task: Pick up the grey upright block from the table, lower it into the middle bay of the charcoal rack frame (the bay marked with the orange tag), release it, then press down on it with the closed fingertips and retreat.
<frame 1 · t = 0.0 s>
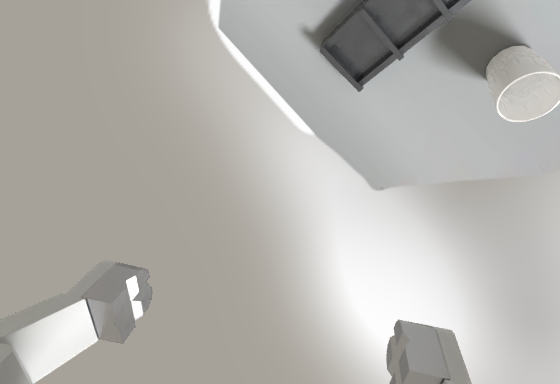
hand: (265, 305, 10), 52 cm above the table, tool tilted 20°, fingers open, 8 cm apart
white cup: (509, 65, 51), on the table
rack: (404, 7, 48), on the table
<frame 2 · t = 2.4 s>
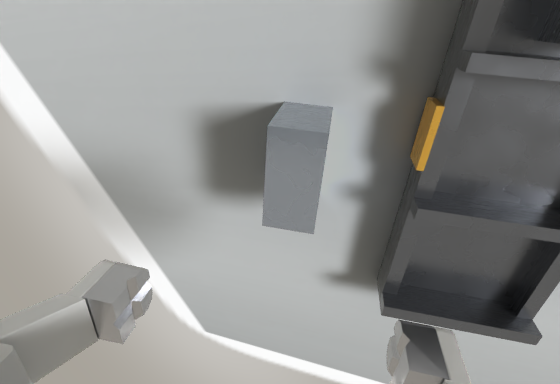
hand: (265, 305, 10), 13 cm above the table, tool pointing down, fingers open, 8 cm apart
grey upright block: (303, 149, 21), on the table
rack: (514, 137, 18), on the table
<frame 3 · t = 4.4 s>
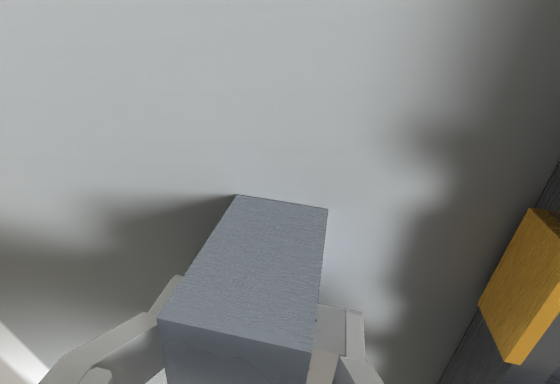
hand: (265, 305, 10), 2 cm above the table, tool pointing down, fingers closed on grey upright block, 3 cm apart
grey upright block: (275, 271, 12), on the table, touching gripper
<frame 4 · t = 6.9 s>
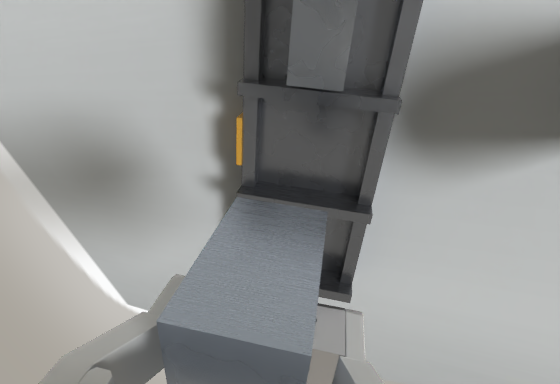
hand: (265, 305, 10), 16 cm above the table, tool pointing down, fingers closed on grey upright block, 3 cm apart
grey upright block: (275, 273, 12), point 15 cm above the table, touching gripper
rack: (313, 141, 24), on the table
when the fingers open (4 cm above the table, at t = 9.6 s): grey upright block drops 1 cm, resting on rack.
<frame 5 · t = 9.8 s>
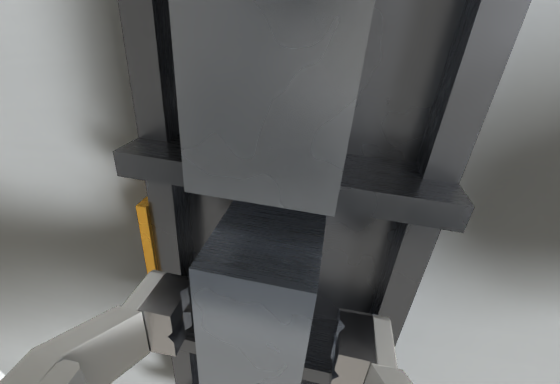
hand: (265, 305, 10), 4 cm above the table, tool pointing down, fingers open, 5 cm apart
grey upright block: (282, 248, 13), point 1 cm above the table, touching rack
rack: (287, 233, 14), on the table
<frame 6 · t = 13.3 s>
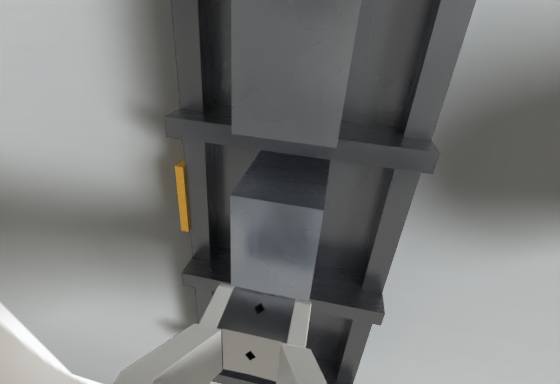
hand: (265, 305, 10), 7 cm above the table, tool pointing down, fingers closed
grey upright block: (292, 204, 16), point 1 cm above the table, touching rack
rack: (296, 193, 16), on the table
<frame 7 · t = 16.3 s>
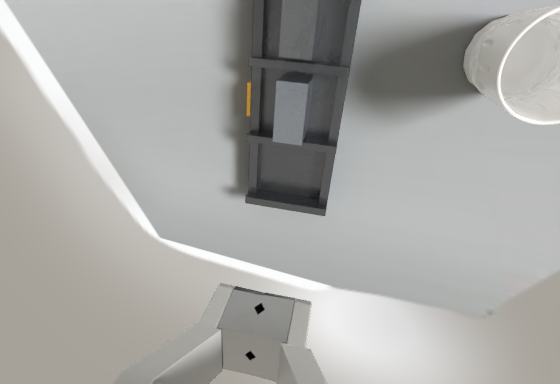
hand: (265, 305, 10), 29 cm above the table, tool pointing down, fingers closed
white cup: (500, 54, 30), on the table
grey upright block: (296, 103, 35), point 1 cm above the table, touching rack
rack: (298, 100, 36), on the table
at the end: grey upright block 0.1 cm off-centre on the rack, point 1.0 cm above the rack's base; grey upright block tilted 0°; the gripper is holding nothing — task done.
